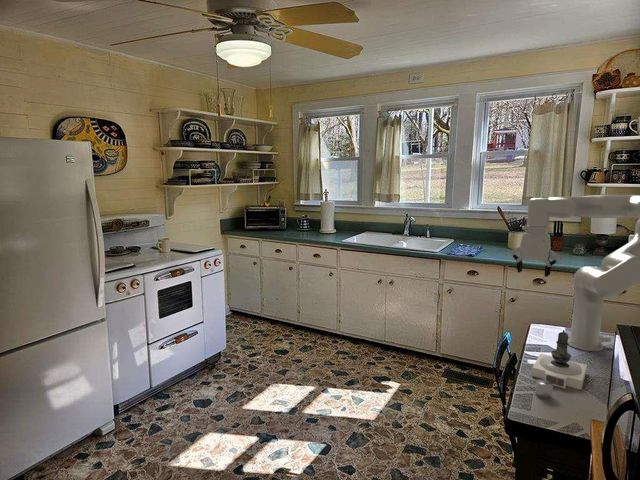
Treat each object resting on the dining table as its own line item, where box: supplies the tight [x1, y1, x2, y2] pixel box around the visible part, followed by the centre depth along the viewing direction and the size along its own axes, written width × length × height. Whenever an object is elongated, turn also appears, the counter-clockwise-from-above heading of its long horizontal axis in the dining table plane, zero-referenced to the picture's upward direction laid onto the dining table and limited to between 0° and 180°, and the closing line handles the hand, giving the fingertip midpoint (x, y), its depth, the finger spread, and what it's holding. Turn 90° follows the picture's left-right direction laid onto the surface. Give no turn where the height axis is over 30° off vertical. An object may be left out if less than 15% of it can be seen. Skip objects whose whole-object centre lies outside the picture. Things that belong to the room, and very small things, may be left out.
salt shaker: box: [550, 329, 572, 368], centre depth 134 cm, size 6×6×12 cm
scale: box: [531, 353, 588, 390], centre depth 134 cm, size 17×14×4 cm
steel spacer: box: [534, 379, 554, 401], centre depth 121 cm, size 4×4×4 cm
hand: (532, 274), depth 156 cm, fingers open, 9 cm apart
